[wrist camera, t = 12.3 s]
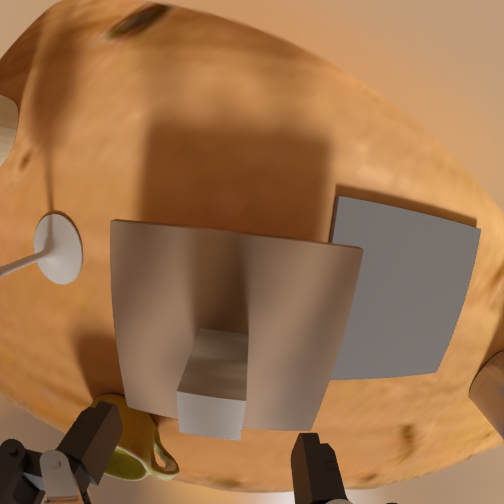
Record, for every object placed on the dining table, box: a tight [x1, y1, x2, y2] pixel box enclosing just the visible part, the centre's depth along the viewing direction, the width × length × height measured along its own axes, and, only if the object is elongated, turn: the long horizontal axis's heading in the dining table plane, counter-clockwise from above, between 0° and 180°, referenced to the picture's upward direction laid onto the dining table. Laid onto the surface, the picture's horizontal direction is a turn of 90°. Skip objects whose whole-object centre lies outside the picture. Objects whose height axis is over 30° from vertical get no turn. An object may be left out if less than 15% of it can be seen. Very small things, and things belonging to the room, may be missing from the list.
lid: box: [110, 219, 364, 441], centre depth 14 cm, size 15×15×7 cm
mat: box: [329, 196, 481, 380], centre depth 23 cm, size 17×17×1 cm
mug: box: [90, 394, 179, 481], centre depth 23 cm, size 12×10×10 cm
